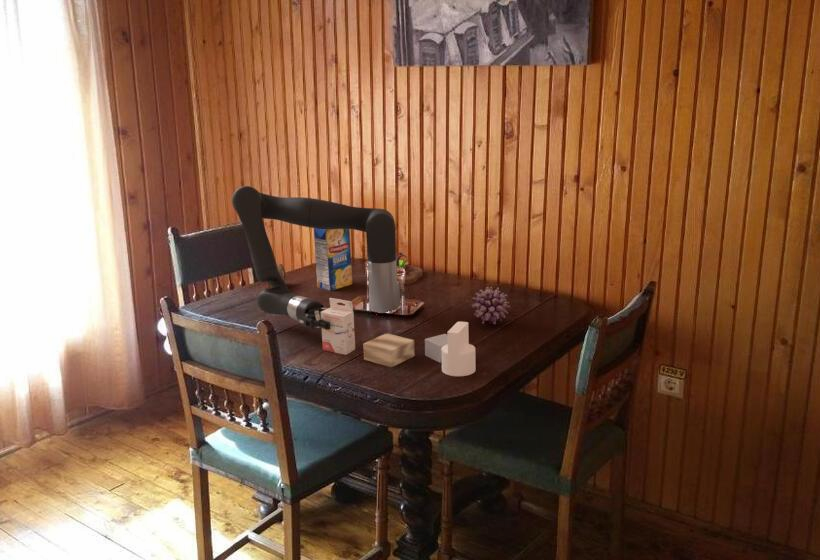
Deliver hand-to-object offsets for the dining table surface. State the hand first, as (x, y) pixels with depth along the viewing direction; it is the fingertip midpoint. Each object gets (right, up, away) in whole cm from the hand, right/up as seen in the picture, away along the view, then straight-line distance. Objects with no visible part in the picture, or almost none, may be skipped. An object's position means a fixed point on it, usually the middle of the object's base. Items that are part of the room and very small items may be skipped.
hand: (339, 322), depth 231 cm
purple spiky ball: (+45, -2, +21) cm, 49 cm away
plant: (+14, +13, +74) cm, 77 cm away
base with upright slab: (+33, -12, -13) cm, 37 cm away
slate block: (+29, -9, -3) cm, 31 cm away
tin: (-29, +9, +64) cm, 70 cm away
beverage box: (-7, +10, +65) cm, 67 cm away
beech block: (+14, -10, -3) cm, 17 cm away
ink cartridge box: (0, -8, +3) cm, 9 cm away
